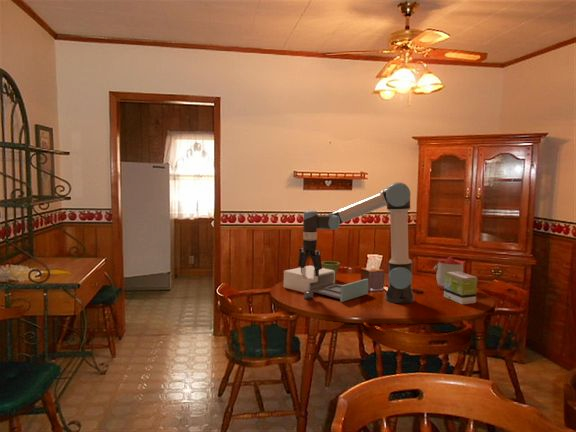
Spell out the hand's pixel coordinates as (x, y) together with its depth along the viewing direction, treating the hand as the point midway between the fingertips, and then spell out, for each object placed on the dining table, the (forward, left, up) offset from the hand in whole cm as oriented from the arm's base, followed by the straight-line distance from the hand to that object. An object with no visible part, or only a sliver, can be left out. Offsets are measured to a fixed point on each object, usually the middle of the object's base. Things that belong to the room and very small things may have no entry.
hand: (309, 280), depth 245 cm
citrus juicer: (-43, -80, -10) cm, 91 cm away
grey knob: (0, 0, -10) cm, 10 cm away
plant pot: (+19, -43, -10) cm, 48 cm away
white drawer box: (+16, -19, -10) cm, 27 cm away
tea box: (-59, -60, -10) cm, 84 cm away
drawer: (-6, -19, -10) cm, 22 cm away
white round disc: (0, 0, 0) cm, 0 cm away
